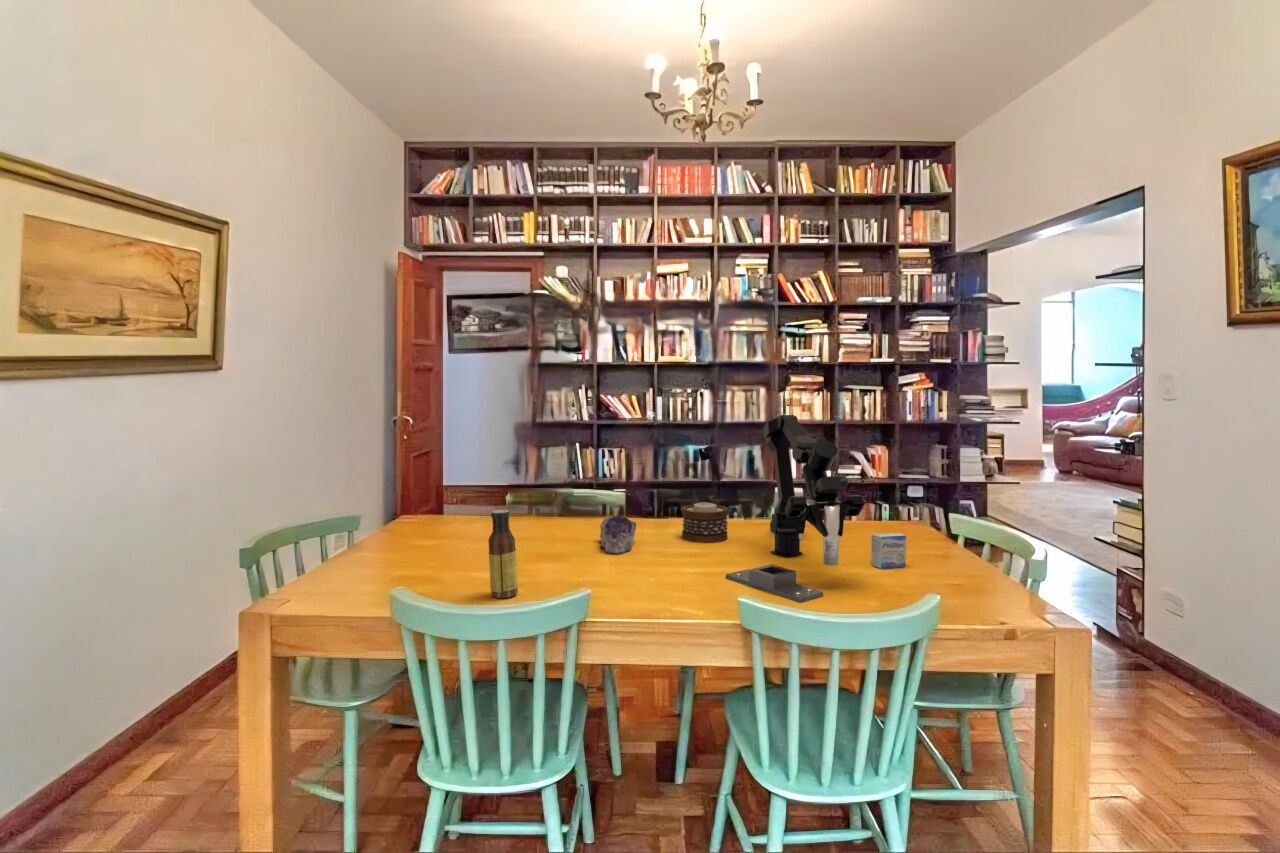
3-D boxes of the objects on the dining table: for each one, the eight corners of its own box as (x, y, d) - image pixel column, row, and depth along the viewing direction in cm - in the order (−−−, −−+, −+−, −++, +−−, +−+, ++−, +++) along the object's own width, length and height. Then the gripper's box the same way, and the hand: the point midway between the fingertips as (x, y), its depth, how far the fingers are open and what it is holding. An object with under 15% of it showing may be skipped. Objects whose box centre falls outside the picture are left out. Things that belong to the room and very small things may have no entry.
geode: (640, 555, 201) (636, 521, 200) (600, 561, 201) (595, 527, 199) (638, 536, 221) (633, 505, 220) (601, 541, 221) (597, 510, 220)
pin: (819, 562, 170) (821, 505, 169) (830, 560, 172) (831, 504, 171) (831, 566, 167) (832, 508, 166) (841, 564, 169) (843, 506, 168)
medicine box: (880, 569, 186) (881, 537, 186) (870, 565, 191) (871, 533, 190) (905, 567, 189) (906, 535, 188) (895, 563, 193) (896, 531, 192)
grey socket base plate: (725, 578, 178) (725, 562, 178) (747, 572, 183) (748, 557, 182) (800, 602, 159) (800, 585, 159) (823, 595, 164) (823, 579, 163)
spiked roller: (732, 501, 226) (724, 509, 212) (732, 534, 227) (723, 545, 213) (687, 498, 231) (676, 506, 216) (687, 531, 232) (676, 541, 217)
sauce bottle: (519, 591, 167) (518, 508, 166) (515, 599, 161) (514, 513, 159) (491, 591, 167) (490, 508, 165) (486, 599, 161) (485, 513, 159)
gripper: (789, 463, 171) (804, 518, 161) (863, 462, 173) (882, 516, 163) (778, 490, 179) (792, 543, 169) (849, 489, 181) (866, 541, 171)
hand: (833, 535), depth 168 cm, fingers closed on pin, 4 cm apart
